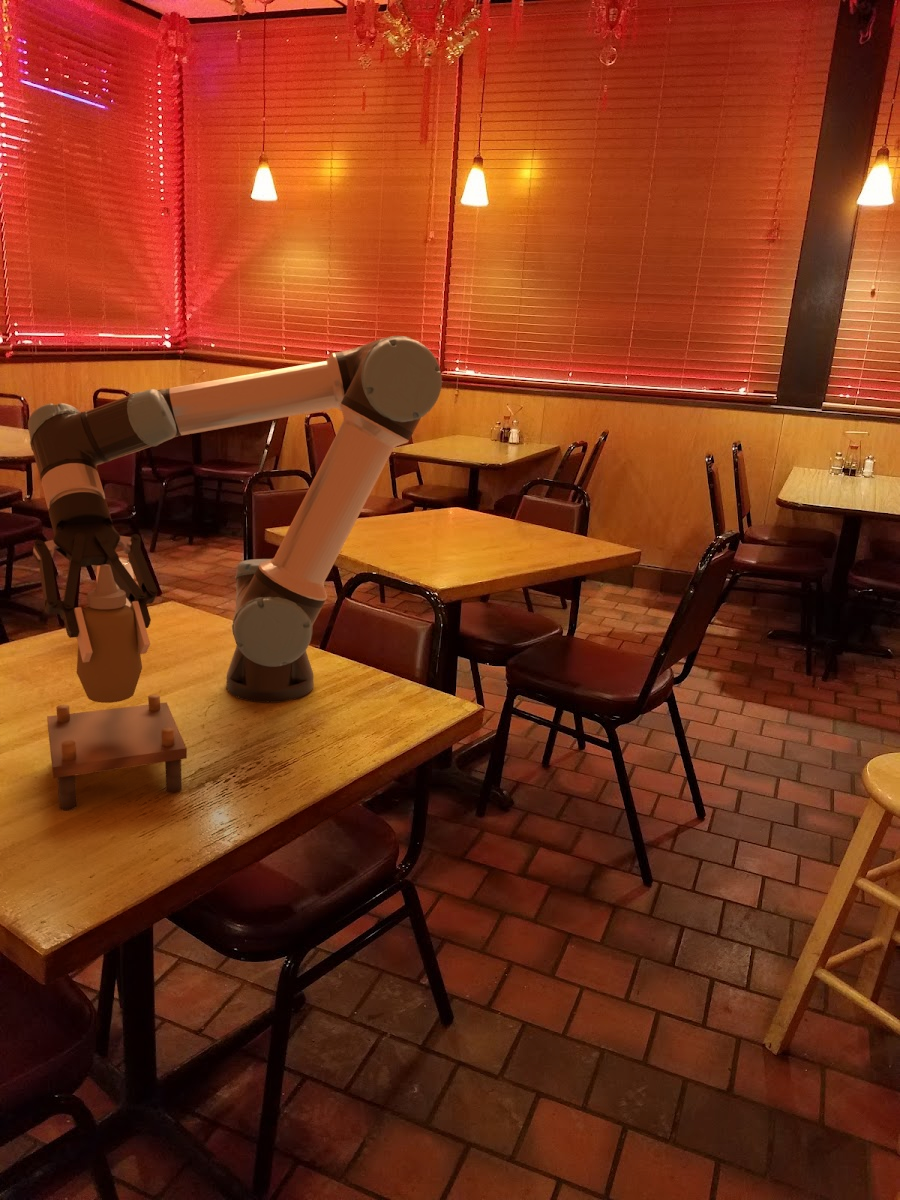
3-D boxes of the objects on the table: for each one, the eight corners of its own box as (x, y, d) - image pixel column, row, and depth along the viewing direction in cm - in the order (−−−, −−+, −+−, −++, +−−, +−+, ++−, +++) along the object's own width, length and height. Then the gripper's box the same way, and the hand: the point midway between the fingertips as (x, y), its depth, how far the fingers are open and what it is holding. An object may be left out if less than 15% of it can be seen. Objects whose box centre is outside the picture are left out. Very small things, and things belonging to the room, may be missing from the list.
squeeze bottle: (110, 680, 117) (104, 554, 112) (156, 692, 114) (152, 564, 109) (64, 699, 110) (56, 566, 105) (112, 712, 107) (106, 576, 102)
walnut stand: (167, 742, 126) (166, 689, 123) (187, 792, 112) (186, 734, 110) (50, 758, 118) (46, 703, 116) (55, 814, 105) (51, 752, 103)
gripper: (143, 516, 124) (184, 655, 116) (-4, 524, 112) (31, 678, 104) (154, 486, 118) (198, 629, 110) (0, 491, 107) (38, 651, 99)
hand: (117, 653), depth 107 cm, fingers closed on squeeze bottle, 6 cm apart
